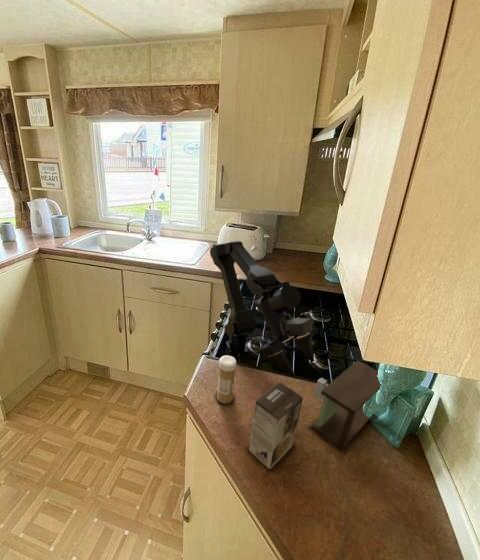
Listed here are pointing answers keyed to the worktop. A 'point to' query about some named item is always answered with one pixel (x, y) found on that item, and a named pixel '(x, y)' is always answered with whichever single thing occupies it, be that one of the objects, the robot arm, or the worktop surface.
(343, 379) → the dark brown angular piece
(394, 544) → the worktop surface
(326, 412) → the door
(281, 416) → the coffee box
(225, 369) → the sprinkles bottle
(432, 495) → the worktop surface
